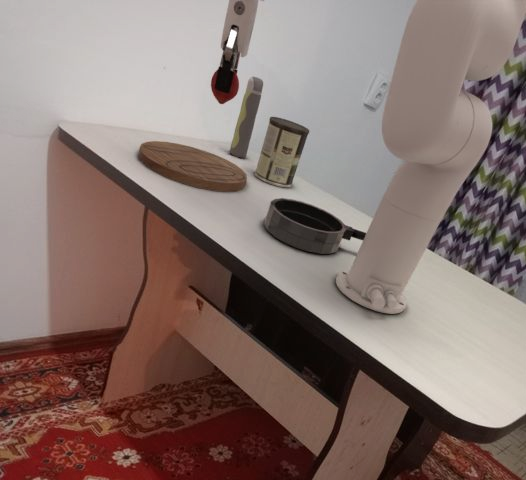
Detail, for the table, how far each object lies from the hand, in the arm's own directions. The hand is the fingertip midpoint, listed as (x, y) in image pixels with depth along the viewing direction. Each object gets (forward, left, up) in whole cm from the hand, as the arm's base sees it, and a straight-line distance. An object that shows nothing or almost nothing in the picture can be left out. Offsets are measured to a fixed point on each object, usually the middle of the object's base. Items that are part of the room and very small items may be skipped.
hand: (223, 89), depth 96 cm
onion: (0, 0, -3) cm, 3 cm away
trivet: (+2, +3, -18) cm, 19 cm away
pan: (-20, -23, -18) cm, 36 cm away
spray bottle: (+30, -5, -18) cm, 35 cm away
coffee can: (+16, -16, -18) cm, 29 cm away
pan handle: (-20, -36, -16) cm, 44 cm away
